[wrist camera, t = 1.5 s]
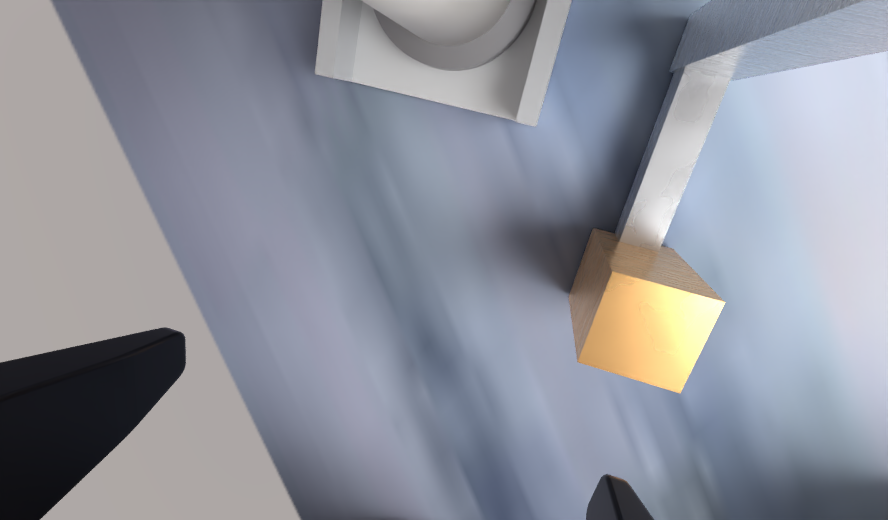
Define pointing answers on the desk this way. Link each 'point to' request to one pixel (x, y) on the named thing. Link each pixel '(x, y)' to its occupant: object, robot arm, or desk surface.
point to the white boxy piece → (668, 170)
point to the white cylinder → (453, 29)
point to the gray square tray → (479, 89)
